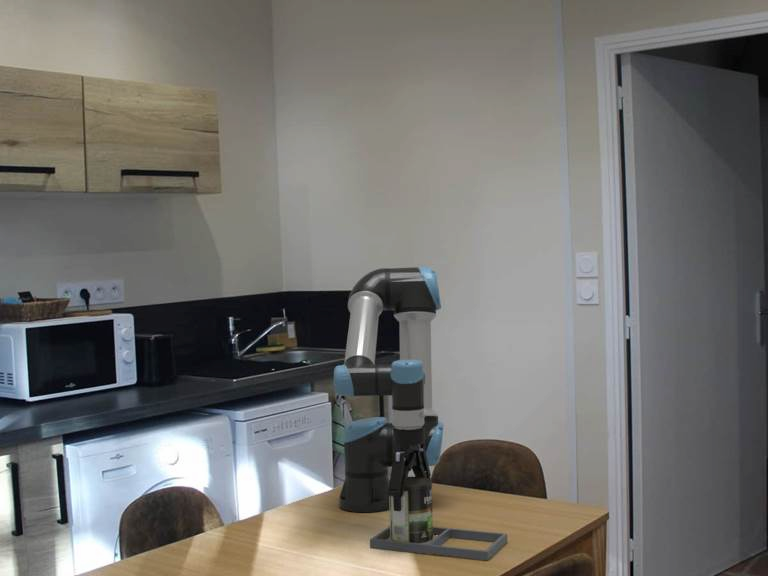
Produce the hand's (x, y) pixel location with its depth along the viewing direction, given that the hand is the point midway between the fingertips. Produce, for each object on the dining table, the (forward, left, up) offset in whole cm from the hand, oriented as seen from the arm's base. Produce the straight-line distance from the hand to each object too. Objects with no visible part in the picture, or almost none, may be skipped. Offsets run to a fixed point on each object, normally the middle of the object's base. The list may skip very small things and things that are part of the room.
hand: (410, 516), depth 230 cm
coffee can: (0, 0, -6) cm, 6 cm away
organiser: (0, +7, -6) cm, 9 cm away
